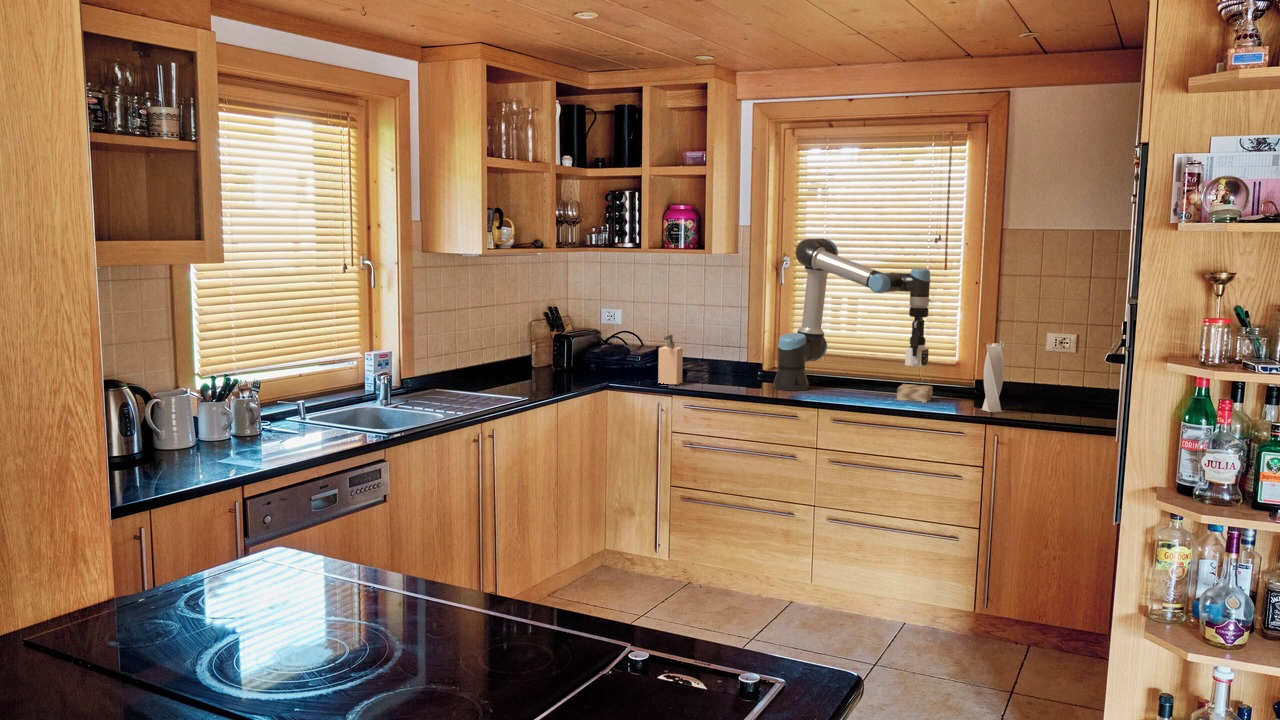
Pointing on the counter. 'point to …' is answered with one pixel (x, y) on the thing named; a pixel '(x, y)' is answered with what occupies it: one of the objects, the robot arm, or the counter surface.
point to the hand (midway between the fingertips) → (916, 362)
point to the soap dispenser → (670, 363)
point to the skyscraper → (993, 377)
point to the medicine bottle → (921, 357)
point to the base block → (914, 392)
